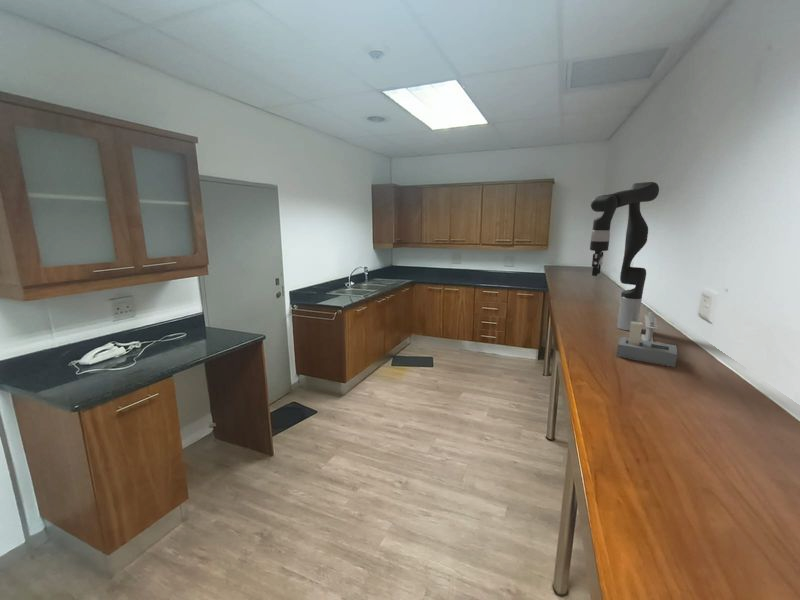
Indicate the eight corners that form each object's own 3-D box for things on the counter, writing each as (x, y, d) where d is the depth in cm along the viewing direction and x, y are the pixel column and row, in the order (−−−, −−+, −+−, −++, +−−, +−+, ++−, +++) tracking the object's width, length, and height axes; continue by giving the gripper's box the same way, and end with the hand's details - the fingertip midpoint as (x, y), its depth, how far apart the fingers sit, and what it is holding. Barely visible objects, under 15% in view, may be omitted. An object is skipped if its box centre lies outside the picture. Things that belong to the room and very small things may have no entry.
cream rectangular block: (627, 349, 153) (631, 321, 150) (638, 351, 150) (642, 322, 148) (626, 351, 150) (630, 322, 148) (637, 353, 148) (642, 324, 145)
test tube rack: (654, 352, 153) (658, 323, 150) (642, 350, 156) (646, 322, 153) (652, 336, 174) (656, 311, 171) (641, 335, 176) (645, 310, 173)
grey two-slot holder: (619, 348, 158) (620, 336, 157) (674, 357, 147) (676, 345, 146) (616, 356, 149) (617, 344, 148) (674, 367, 137) (677, 354, 136)
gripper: (607, 241, 153) (602, 277, 157) (611, 239, 165) (606, 273, 168) (588, 240, 158) (584, 276, 161) (593, 239, 169) (589, 272, 173)
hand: (595, 274), depth 165 cm, fingers open, 8 cm apart
